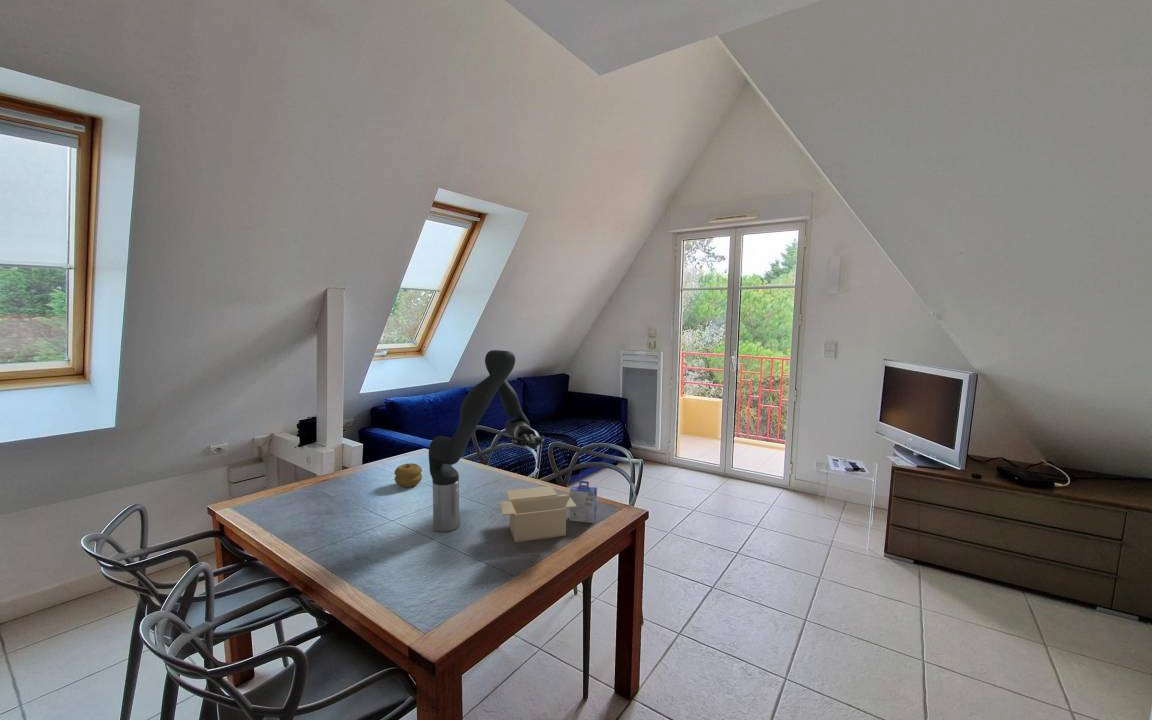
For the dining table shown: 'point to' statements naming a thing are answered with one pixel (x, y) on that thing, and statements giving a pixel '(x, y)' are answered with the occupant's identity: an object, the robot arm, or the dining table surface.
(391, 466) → the dining table surface
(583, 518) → the ink cartridge box
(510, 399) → the robot arm
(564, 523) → the carton
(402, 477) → the stacked bagel
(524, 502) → the far flap
